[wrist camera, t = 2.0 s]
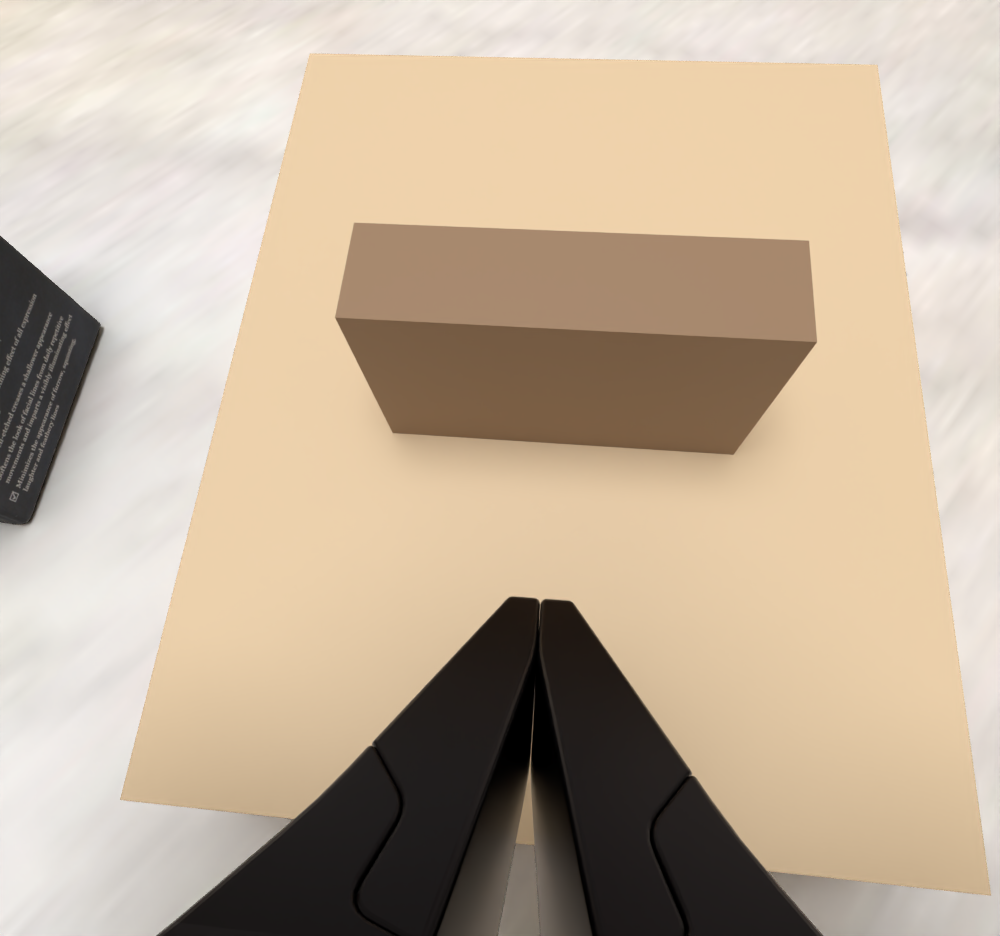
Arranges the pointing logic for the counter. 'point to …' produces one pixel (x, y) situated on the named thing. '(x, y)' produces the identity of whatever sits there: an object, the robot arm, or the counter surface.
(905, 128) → the counter surface
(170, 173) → the counter surface
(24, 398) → the box
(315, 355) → the lid
